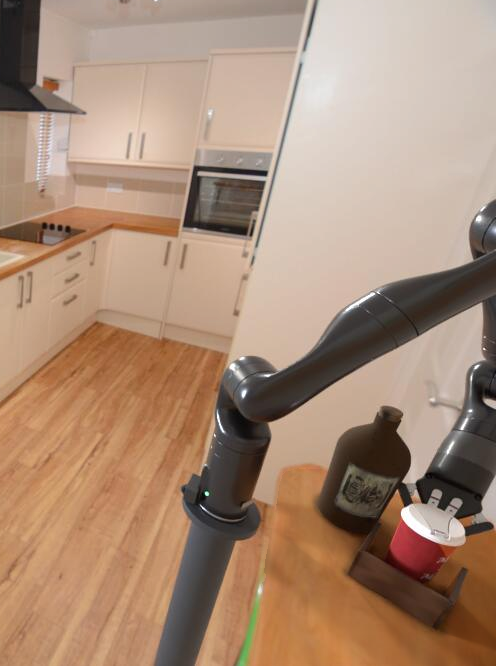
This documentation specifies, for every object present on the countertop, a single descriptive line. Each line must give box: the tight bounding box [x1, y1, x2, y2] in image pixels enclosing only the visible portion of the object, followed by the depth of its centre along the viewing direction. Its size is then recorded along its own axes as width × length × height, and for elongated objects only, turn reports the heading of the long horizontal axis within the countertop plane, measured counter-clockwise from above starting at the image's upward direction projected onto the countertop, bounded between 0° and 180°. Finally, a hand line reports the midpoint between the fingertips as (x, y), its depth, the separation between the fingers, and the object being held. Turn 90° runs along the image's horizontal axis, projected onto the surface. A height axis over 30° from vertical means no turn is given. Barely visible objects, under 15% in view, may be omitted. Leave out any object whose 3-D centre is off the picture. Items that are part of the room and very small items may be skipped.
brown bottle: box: [317, 405, 412, 533], centre depth 85 cm, size 11×11×25 cm
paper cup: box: [382, 502, 467, 587], centre depth 75 cm, size 8×8×14 cm
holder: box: [346, 521, 469, 631], centre depth 76 cm, size 12×10×6 cm
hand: (418, 549), depth 78 cm, fingers closed
